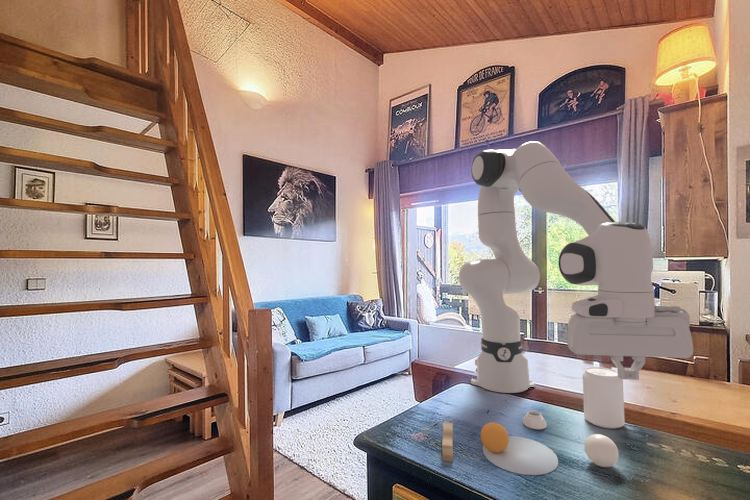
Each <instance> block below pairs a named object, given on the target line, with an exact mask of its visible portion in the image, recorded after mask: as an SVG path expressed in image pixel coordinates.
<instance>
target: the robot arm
mask: <svg viewBox="0 0 750 500" xmlns="http://www.w3.org/2000/svg"><path fill="white" fill-rule="evenodd" d="M470 169H471V171H470V172H471V177H472V179H473V181H474V183H475V184H476V185H478V186H480V187H479V193H478V198H477V199H478V200H477V223H478V224H477V225H478V238H479V240H480V243H482V245H484V246H486V247H487V248H489V249H490V250H491V252H492V253H493V254H494V257H495V258H489V259H488V258H487V259H486V258H484V259H482V258H481V259H475V260H471V261H468V262H465V263H463V265H462V266H461V267H460V271H459V274H458V281H459V284H460V287H461V288H462V289H463V291H464V292H465V293H467V294H468V295H469V296H470V297H471V298H472V299H473V301H474V302H475V304H477V306H478V309H479V312H480V318H481V329H482V331H481V332H482V334H481V335H482V337H481V341H480V350H481V352H480V353H479V354H478V356H477V358H476V357H475V359H474V365H475V366H477V367H476V368H475V370H474V373H477V379H473V378H472V377H471V379H470V384H471V385H474V386H477V387H480V388H482V389H485V390H488V391H491V392H494V393H495V392H496V393H504V394H517V393H522V392H525V391H527V390H529V389H530V388H529V387H532V386H535V387H536V383H535V382H534V381H533V380H531V379H530V374H529V373H530V372H529V371H530V370H529V362H528V358H526V357H525V355H524V354H523V341H522V339H521V322H520V321H521V320H520V319H521V318H520V315H519V314H518V311H516V310H515V309H513V308H512V307H511V306H509V305H507V304H506V302H505V300H504V295H509V294H511V295H513V294H514V295H515V294H522V293H526V292H530V291H533V290H534V289H536V288H537V287H538V285H539V283H540V279H541V274H540V273H541V272H540V269H539V267H538V266H537V264H536V263H535V262H534V261H533V260H531V259H530V258H529V257H528V256H527V255H526V254H525V252H524V250H523V249H522V247H521V245H520V242H519V240H518V239H519V238H518V236H517V235H518V233H517V225H516V209H515V200H514V199H515V195H516V193H517V192H518V191H519V192H521V195H522V197H523V198H524V200H525V201H526V202H527V203H528V204H529V205H530V206H531V207H532V208H534V209H535V210H538V211H541V212H544V213H550V214H554V215H558V216H561V217H564V218H567V219H569V220H572V221H574V222H576V223H577V224H578V225H579V226H581V228H582V229H583V230H584V231H585V232H586V234H587V236H585V237H583V238H581V239H578V240H576V241H573V242H569V243H568V244H566V245H565V246H564V247H563V248H562V249H561V251H560V253H559V256H558V270H559V272H560V274H561V275H560V276H562V277H563V279H564V280H565V281H566V282H567V283H569V284H571V285H576V286H597V294H596V295H594V296H590V297H587V298H584V299H580V300H576V301H574V302H572V304H571V310H572V311H573V312H574V314H572V315H571V317H570V318H569V319H568V320H569V321H568V324H567V325H568V326H567V334H566V342H567V343H566V344H567V347H568V348H569V350H570V351H571V352H573V353H574V354H575V355H585V356H586V355H588V356H593V355H594V356H609V357H610V360H611V362H612V363H613V364H614V366H615V368H617V370H616V371H618V377H619V378H620V379H623V380H630V381H631V380H632V381H639V380H640V371H641V370H642V368H643V366H644V365H646V362H647V361H646V357H647V358H648V357H649V358H673V359H674V358H677V359H678V358H679V359H689V358H690V357H691V356H692V355H693V353H694V345H693V343H694V342H693V338H692V333H691V329H690V326H691V319H690V314H689V312H687V310H686V309H684V308H681V307H680V306H677V305H671V306H667V305H666V306H665V305H655V287H654V286H653V283H652V273H653V270H654V258H653V257H654V255H653V248H652V247H653V246H652V241H651V236H650V233H649V231H648V229H647V227H646V226H644V225H642V224H640V223H636V222H627V221H625V222H622V221H615V220H614V219H613V217H612V216H611V215H610V213H608V211H607V210H606V209H605V208H604V206H603V205H602V204H601V203H600V202H599V201H598V200H597V199H596V198H595V197H594V196H593V195H592V194H591V193H589V191H588V190H585V189H584V188H583V187H582V186H581V185H579V184H578V183H577V182H576V181H575V180H574V179H573V177H571V176H570V174H569V173H568V172H567V171H566V170H565V168H564V167H563V165H562V164H561V163H560V161H559V159H558V158H557V157H556V155H554V153H553V152H552V151H551V150H550V149H549V148H548V147H547V146H546V145H545V144H543V143H541V142H540V141H533V140H532V141H527V142H525V143H523V144H521V145H519V146H518V147H517V148H510V149H485V150H482V151H480V152H478V153H477V154H476V156H474V158H473V161H472V164H471V168H470ZM624 357H631V359H632V360H633V363H632V364H631V366H630V367H624V366H623V364H622V363H621V362H624ZM528 388H529V389H528Z"/></svg>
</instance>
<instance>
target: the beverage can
mask: <svg viewBox="0 0 750 500" xmlns="http://www.w3.org/2000/svg"><path fill="white" fill-rule="evenodd" d="M582 391H583V392H582V394H583V396H582V397H583V417H584V420H586V421H587V422H589V423H591V424H592V425H594V426H597V427H600V428H604V429H619V428H622V427H623V426H625V398H624V379H620V378H619V377H618V370H615V369H612V368H607V367H601V366H588V367H586V368H584V372H583V373H582Z"/></svg>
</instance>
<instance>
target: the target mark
mask: <svg viewBox="0 0 750 500" xmlns="http://www.w3.org/2000/svg"><path fill="white" fill-rule="evenodd" d="M508 437H509V443H508V446H507V448H506V449H505V450H504V451H502V452H499V453H495V452H491V451H489V450H488V449H487V448H485V446H484V445H483V444H482V452H483V455H484V457H485V458H486V459H487V460H488V461H489V463H491V464H493V465H494V466H495V467H498V468H500V469H503V470H504V471H508V472H510V473H514V474H517V475H526V476H540V475H546V474H549V473H551V472H553V471H554V470H556V469H557V468H558V466H559V458H558V456H557V454H556V453H555V452H554V451H553V450H552V449H551V448H549V447H548V446H546V445H544V444H543V443H541V442H539V441H537V440H533V439H531V438H528V437H527V438H526V437H521V436H514V435H513V436H512V435H508Z"/></svg>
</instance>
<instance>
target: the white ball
mask: <svg viewBox="0 0 750 500" xmlns="http://www.w3.org/2000/svg"><path fill="white" fill-rule="evenodd" d="M584 452H585V455H586V456H587V458H588V459H589V460H590V461H591V463H593V464H594V465H596V466H598V467H602V468H610V467H613V466H614V465H616V463H617V462H618V460H619V453H620V452H619V449H618V447H617V445H616V444H615V441H613V440H612V439H611V438H609V436H606V435H604V434H601V433H594V434H590V435H589V436H588V437H587V438H586V439H585V441H584Z"/></svg>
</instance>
